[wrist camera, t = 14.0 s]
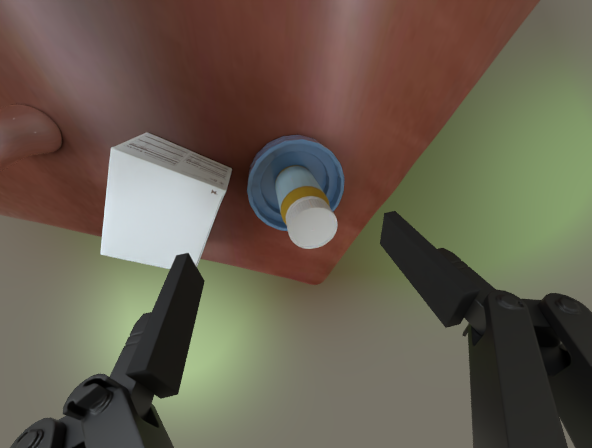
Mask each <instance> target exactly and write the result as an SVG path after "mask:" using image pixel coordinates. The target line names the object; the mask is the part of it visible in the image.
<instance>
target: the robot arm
mask: <svg viewBox="0 0 592 448" xmlns="http://www.w3.org/2000/svg"><path fill="white" fill-rule="evenodd" d="M380 244H381V246H382V247H383V248H384V249H385V251H386V252H387V253H388V255H389V256H390V257H391V258H392V260H393V261H394V262H395V264H396V265H397V266H398V267H399V269H400V270H401V271H402V273H403V274H404V275H405V276H406V278H407V279H408V280H409V281H410V283H411V284H412V285H413V287H414V288H415V289H416V290H417V292H418V293H419V294H420V295H421V297H422V298H423V299H424V301H425V302H426V303H427V304H428V306H429V307H430V308H431V310H432V311H433V312H434V313H435V315H436V316H437V317H438V318H439V320H440V321H441V322H442V323H443V325H444V326H445V327H450V326H454V325H458V324H460V323H461V321H462V320H463V318H465V319H466V320H467V321H468V322H469V324H468V326H467V327H466V329H465V330H464V332H463V336H466V334H467V333H468V343H469V344H468V345H469V366H470V387H471V408H472V430H473V448H568V447H567V443H566V439H565V436H564V432H563V429H562V425H561V422H560V419H561V421H562V423H563V425H564V427H565V429H566V431H567V432H568V434H569V436H570V438H571V440H572V442H573V444H574V446H575V448H592V312H591V311H590V310H589V309H588V308H587V307H586V306H584V305H583V304H582V303H580V302H579V301H577V300H575V299H573V298H571V297H569V296H566V295H562V294H557V293H550V294H548V295H546V296H545V297H544V298H543V299H542V300H530V299H520V298H519V297H517V296H515V295H514V294H512V293H509V292H506V291H501V290H496V289H495V288H493V287H492V286H491V285H490V284H489V283H487V282H486V281H485V280H484V279H483V278H482V277H481V276H479V275H478V274H477V273H476V272H475V271H474V270H472V269H471V268H470V267H468V265H467V264H465V263H464V262H463V261H461V259H460V258H458V257H457V256H456V255H455V254H454V253H452V252H450V251H448V250H446V249H444V248H440V249H436V248H435V247H434V246H433V245H431V243H429V242H428V241H427V240H426V239H425V238H424V237H423V236H422V235H421V234H420V233H419V232H418V231H416V230H415V229H414V228H413V227H412V226H411V225H410V224H409V223H408V222H407V221H405V220H404V219H403V218H402V217H401V216H400V215H399V214H398V213H397V212H396V211H393V212H388V213H384V221H383V227H382V233H381V240H380ZM203 285H204V279H203V278H202V276H201V274H200V272H199V271H198V269H197V267H196V265H195V263H194V262H193V260H192V258H191V256H190V255H189V253H185V254H180V255H176V257H175V259H174V262H173V264H172V266H171V269H170V271H169V273H168V275H167V278H166V280H165V282H164V285H163V287H162V289H161V292H160V294H159V296H158V299H157V301H156V303H155V306H154V308H153V310H152V312H150V313H146V314H143V315H142V316H141V317H140V319H139V320H138V321H137V322H136V324H135V325H134V327H133V329H132V331H131V333H130V337H129V338H128V339H127V342H126V346H124V348H123V350H122V352H121V354H120V356H119V358H118V361H117V362H116V365H115V367H114V369H113V371H112V373H111V375H110V377H108V376H107V375H105V374H96V375H93V376H91V377H89V378H88V379H86V380H84V381H83V382H82V383H81V384H80V385H79V386H77V387H76V388H75V389H74V391H73V392H72V393H71V394H70V396H69V397H68V399H67V401H66V403H65V405H64V407H63V414H64V415H67V416H65V417H63V418H61V419H59V420H56V419H53V418H44V419H42V420H39V421H37V422H35V423H34V424H33V425H31V426H30V427H29V428H27V429H26V430H25V431H24V432H23V433H22V434H21V435H20V436H19V437H18V438H17V439H16V440H15V442H14V443H13V444H12V446H11V447H10V448H174V447H173V445H172V442H171V440H170V438H169V436H168V434H167V432H166V430H165V428H164V426H163V424H162V421H161V419H160V417H159V415H158V413H157V411H156V409H155V407H154V405H153V404H152V400H153V397H154V394H155V395H156V396H158V397H159V398H165V397H169V396H173V395H177V394H178V392H179V388H180V384H181V379H182V375H183V371H184V366H185V362H186V358H187V354H188V349H189V345H190V341H191V337H192V332H193V328H194V324H195V320H196V315H197V311H198V307H199V302H200V298H201V294H202V290H203ZM559 417H560V418H559Z"/></svg>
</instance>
